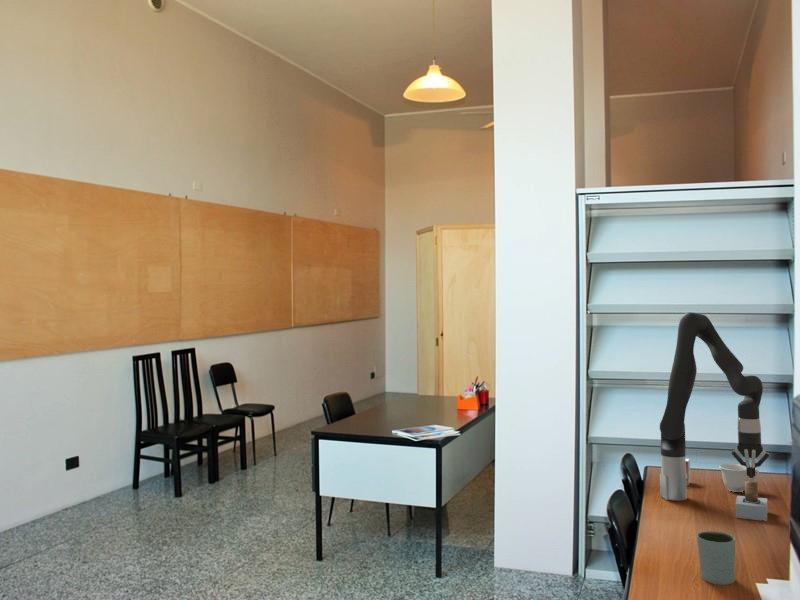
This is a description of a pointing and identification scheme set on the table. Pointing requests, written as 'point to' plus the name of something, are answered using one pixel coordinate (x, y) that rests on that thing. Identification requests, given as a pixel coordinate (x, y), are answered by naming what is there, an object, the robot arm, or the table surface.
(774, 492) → the table surface
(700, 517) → the table surface
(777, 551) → the table surface
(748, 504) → the hole block
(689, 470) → the small box
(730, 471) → the teacup
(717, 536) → the grey-green cup
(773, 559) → the table surface
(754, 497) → the walnut peg
